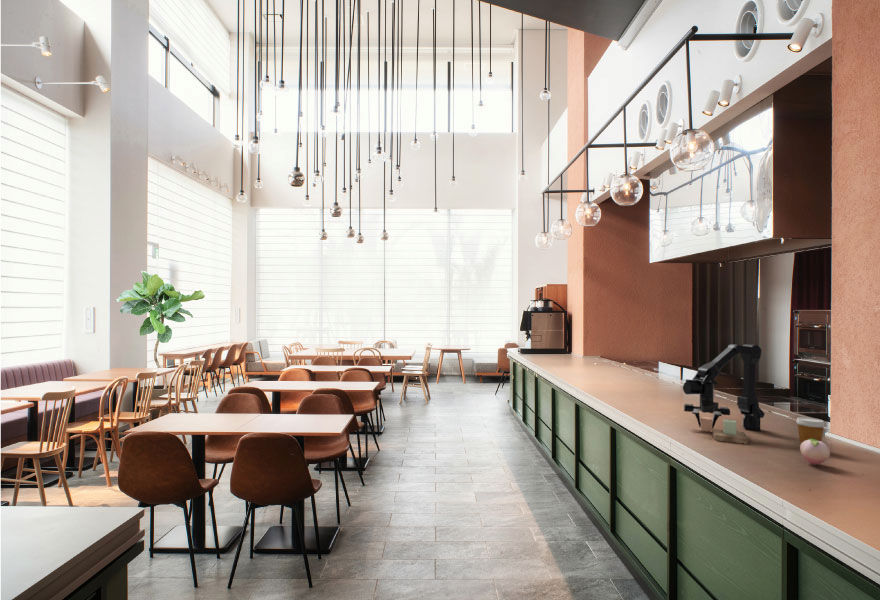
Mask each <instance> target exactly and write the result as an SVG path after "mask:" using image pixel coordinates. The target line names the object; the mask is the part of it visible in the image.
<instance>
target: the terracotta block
mask: <svg viewBox="0 0 880 600" xmlns="http://www.w3.org/2000/svg"><path fill="white" fill-rule="evenodd" d="M712 421H713V417H704V416H703V417H701V416H700V423H701V429H700V431H701V430H702V431H701V432H708V431H710V432H711V433H713V429H712ZM710 432H709V433H710Z"/></svg>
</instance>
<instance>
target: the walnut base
mask: <svg viewBox="0 0 880 600" xmlns="http://www.w3.org/2000/svg"><path fill="white" fill-rule="evenodd" d="M713 436H714V437H713ZM712 437H713V438H714V441H715V442H722V441H726V442H725V443H732V442H735V443H734V444H741V443H744V444H743V445H748V444H749V437H748V436H747V435H746V433H745V432H744V431H738V430H736V435H730V434H724V432H723V429H716V428H713V429H712Z"/></svg>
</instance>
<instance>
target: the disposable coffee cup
mask: <svg viewBox="0 0 880 600" xmlns="http://www.w3.org/2000/svg"><path fill="white" fill-rule="evenodd" d="M795 422H796V425H797V431H798V438H799V445H800V446H801V444H802V443H803V442H804V441H806V440H809V439H814V437H815V439H816V440H817V441H820V442H822V439H823V433H824V427H825V425H826V424H825V422H824V420H822V419H819V418H814V417H806V416H805V417H804V416H799V417H797V418H796V420H795ZM800 446H799V447H800Z"/></svg>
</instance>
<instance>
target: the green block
mask: <svg viewBox="0 0 880 600" xmlns="http://www.w3.org/2000/svg"><path fill="white" fill-rule="evenodd" d="M722 420H723V423H722V426H723V427H722V430H723V432H724V434H730V435H736V431H737V425H738V424H737V420H736V419H727V418H723V419H722Z"/></svg>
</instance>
